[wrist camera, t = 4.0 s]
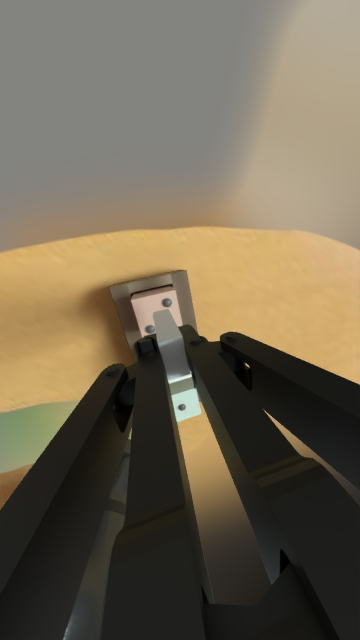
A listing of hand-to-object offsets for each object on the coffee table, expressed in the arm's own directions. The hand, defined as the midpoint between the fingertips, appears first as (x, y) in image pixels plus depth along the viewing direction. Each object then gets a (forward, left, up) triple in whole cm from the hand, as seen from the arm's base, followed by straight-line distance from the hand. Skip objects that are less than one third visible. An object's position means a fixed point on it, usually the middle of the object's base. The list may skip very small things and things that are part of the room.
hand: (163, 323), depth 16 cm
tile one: (0, -14, -9) cm, 17 cm away
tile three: (0, 0, -9) cm, 9 cm away
